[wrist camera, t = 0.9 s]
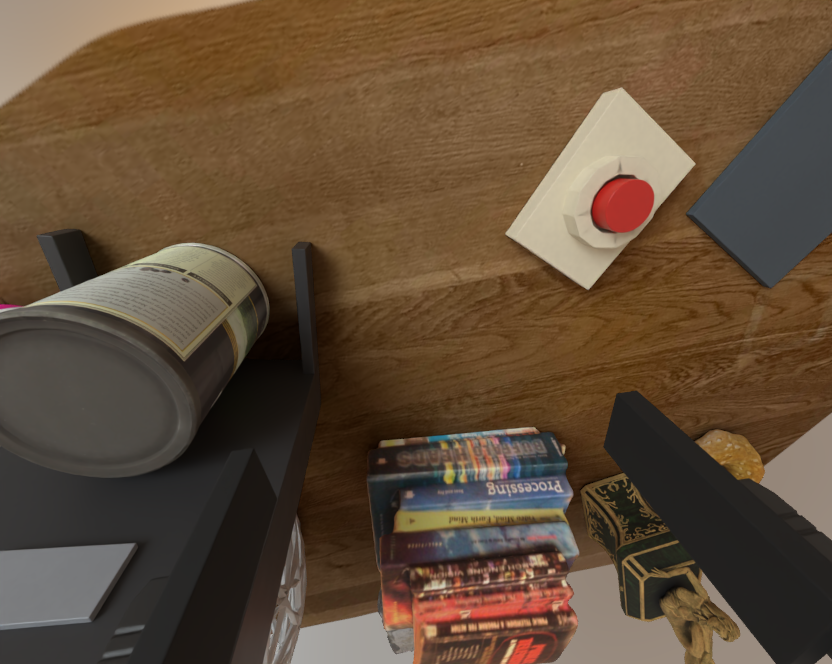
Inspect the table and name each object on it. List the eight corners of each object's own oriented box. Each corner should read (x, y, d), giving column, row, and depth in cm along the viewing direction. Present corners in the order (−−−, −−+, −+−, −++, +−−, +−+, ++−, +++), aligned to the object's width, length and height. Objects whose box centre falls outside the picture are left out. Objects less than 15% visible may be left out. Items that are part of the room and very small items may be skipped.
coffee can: (292, 329, 31) (235, 444, 18) (193, 365, 31) (72, 500, 19) (227, 221, 26) (89, 277, 13) (111, 266, 26) (-125, 360, 14)
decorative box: (571, 480, 46) (692, 676, 28) (639, 458, 45) (805, 645, 28) (584, 552, 55) (681, 733, 38) (641, 535, 54) (765, 710, 37)
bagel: (744, 414, 43) (784, 442, 39) (735, 466, 48) (770, 495, 44) (670, 440, 44) (701, 469, 40) (669, 488, 49) (697, 519, 45)
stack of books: (555, 421, 40) (664, 578, 25) (532, 512, 48) (604, 673, 33) (366, 438, 38) (361, 622, 23) (377, 531, 46) (378, 711, 31)
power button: (616, 168, 24) (633, 168, 22) (646, 195, 25) (664, 197, 23) (581, 213, 25) (595, 216, 23) (612, 237, 26) (627, 242, 25)
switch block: (602, 93, 25) (640, 81, 21) (673, 163, 27) (717, 163, 24) (504, 234, 29) (522, 244, 25) (575, 282, 32) (600, 297, 28)
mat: (886, -14, 23) (902, -19, 23) (948, 111, 28) (963, 110, 27) (685, 213, 30) (692, 215, 29) (762, 286, 34) (771, 288, 33)
